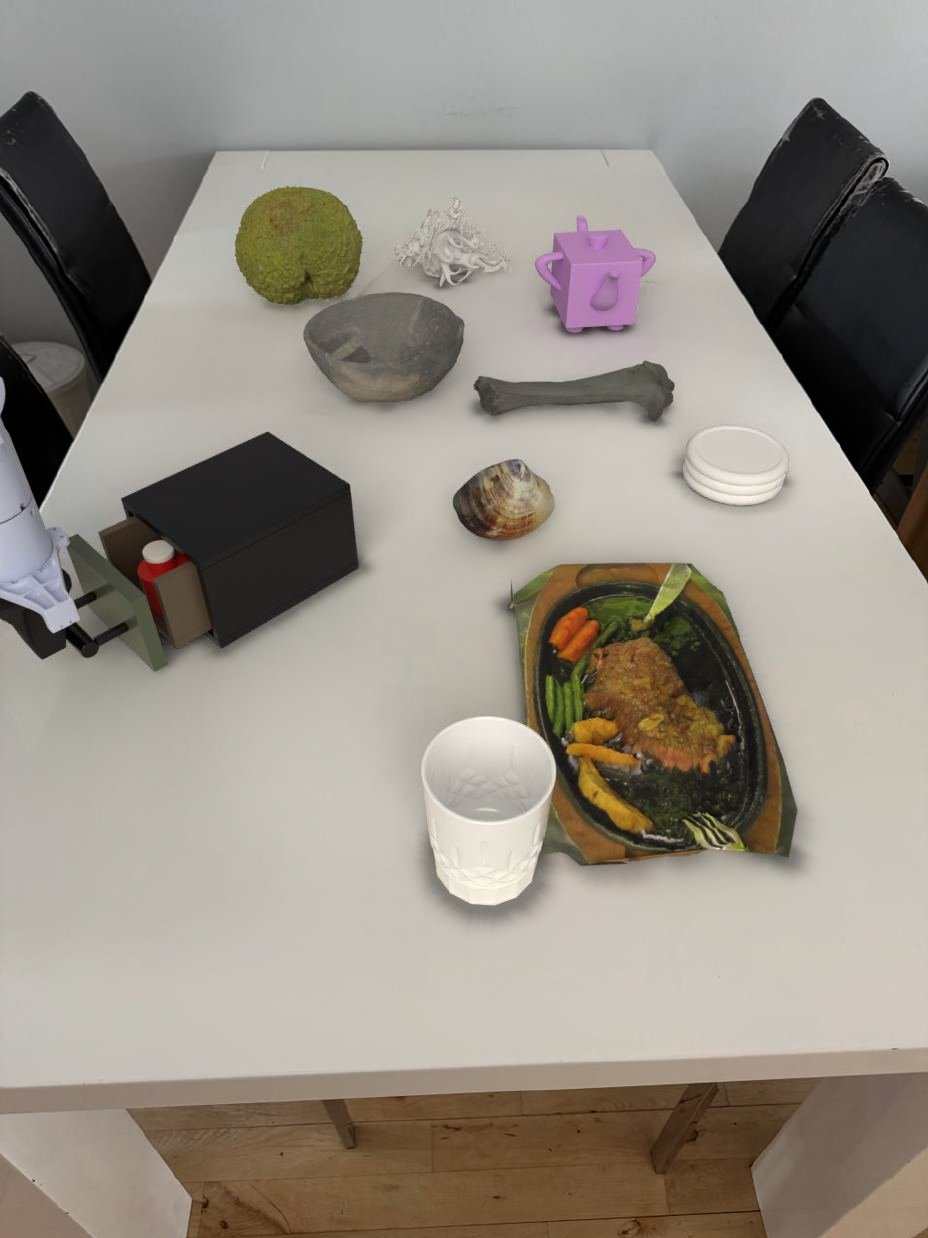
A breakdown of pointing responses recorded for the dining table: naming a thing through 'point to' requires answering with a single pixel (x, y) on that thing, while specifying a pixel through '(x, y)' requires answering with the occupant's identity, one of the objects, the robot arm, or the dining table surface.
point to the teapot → (594, 277)
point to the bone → (583, 390)
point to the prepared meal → (648, 716)
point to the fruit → (298, 245)
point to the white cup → (487, 806)
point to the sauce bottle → (157, 569)
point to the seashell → (504, 501)
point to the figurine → (448, 247)
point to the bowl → (385, 345)
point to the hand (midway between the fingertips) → (50, 649)
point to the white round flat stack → (735, 464)
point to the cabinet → (254, 530)
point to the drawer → (134, 595)
